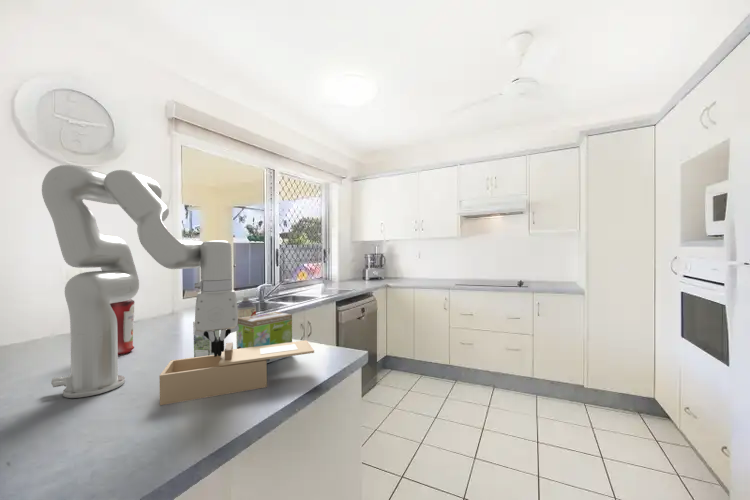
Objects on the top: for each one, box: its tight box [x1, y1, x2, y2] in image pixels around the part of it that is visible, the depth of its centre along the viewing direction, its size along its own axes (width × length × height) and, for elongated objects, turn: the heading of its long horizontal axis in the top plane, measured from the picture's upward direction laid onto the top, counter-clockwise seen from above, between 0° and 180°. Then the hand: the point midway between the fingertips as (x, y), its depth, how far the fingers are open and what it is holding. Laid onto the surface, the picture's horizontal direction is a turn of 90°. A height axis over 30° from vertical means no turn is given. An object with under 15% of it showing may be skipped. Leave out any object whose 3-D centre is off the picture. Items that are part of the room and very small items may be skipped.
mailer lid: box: [219, 339, 315, 366], centre depth 90 cm, size 24×12×3 cm, turn 112°
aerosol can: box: [235, 296, 257, 340], centre depth 116 cm, size 7×7×20 cm
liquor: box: [110, 298, 135, 356], centre depth 118 cm, size 7×7×28 cm
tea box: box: [236, 311, 293, 364], centre depth 107 cm, size 15×10×15 cm
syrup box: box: [192, 320, 220, 357], centre depth 104 cm, size 6×6×14 cm
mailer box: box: [159, 355, 268, 406], centre depth 85 cm, size 24×12×7 cm, turn 112°
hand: (217, 354), depth 85 cm, fingers closed
